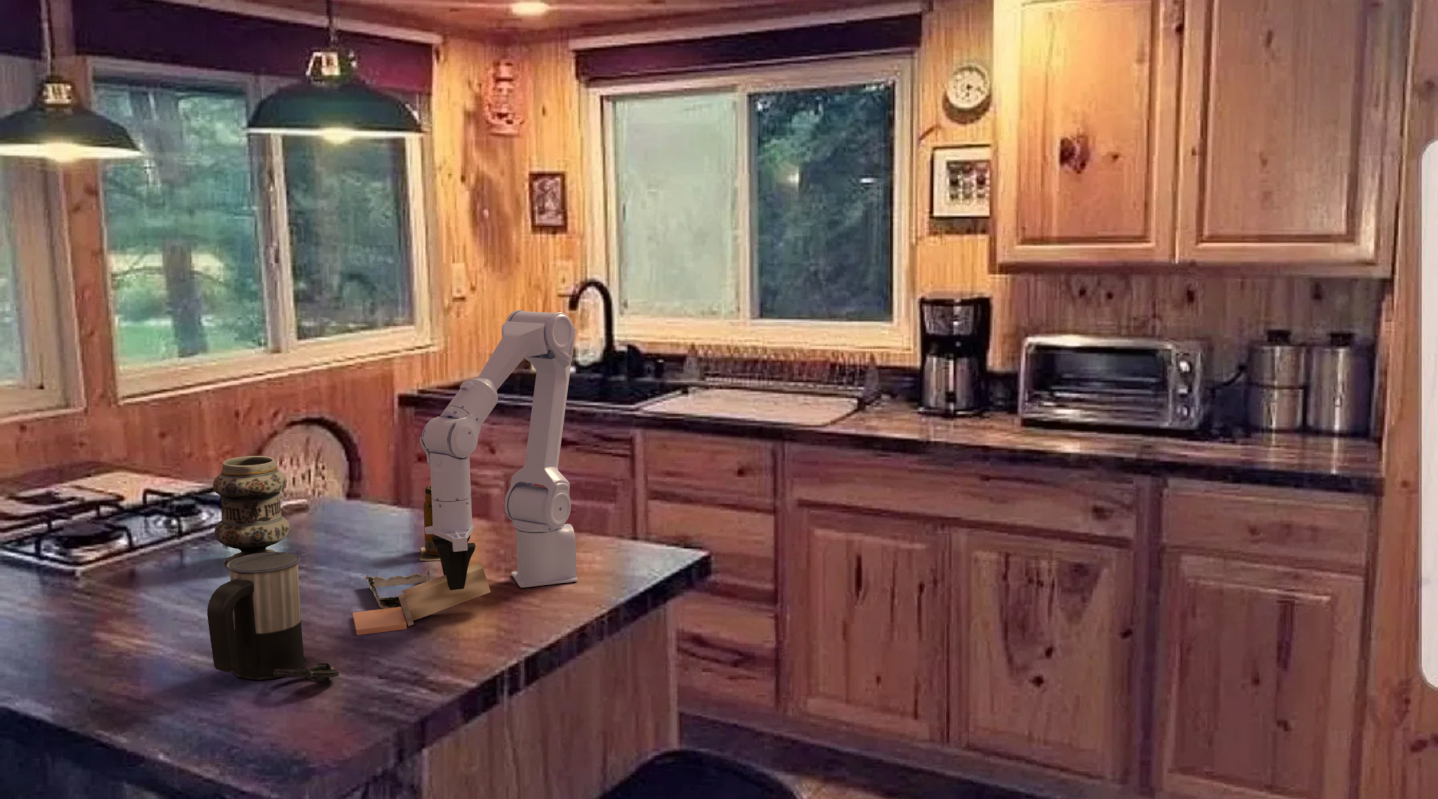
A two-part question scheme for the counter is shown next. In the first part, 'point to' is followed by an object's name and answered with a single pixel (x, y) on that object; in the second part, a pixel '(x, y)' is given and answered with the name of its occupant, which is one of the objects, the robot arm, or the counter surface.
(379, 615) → the tile
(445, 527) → the robot arm
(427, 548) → the condiment
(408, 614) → the wooden block
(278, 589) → the milk frother
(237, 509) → the apothecary jar
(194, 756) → the counter surface
